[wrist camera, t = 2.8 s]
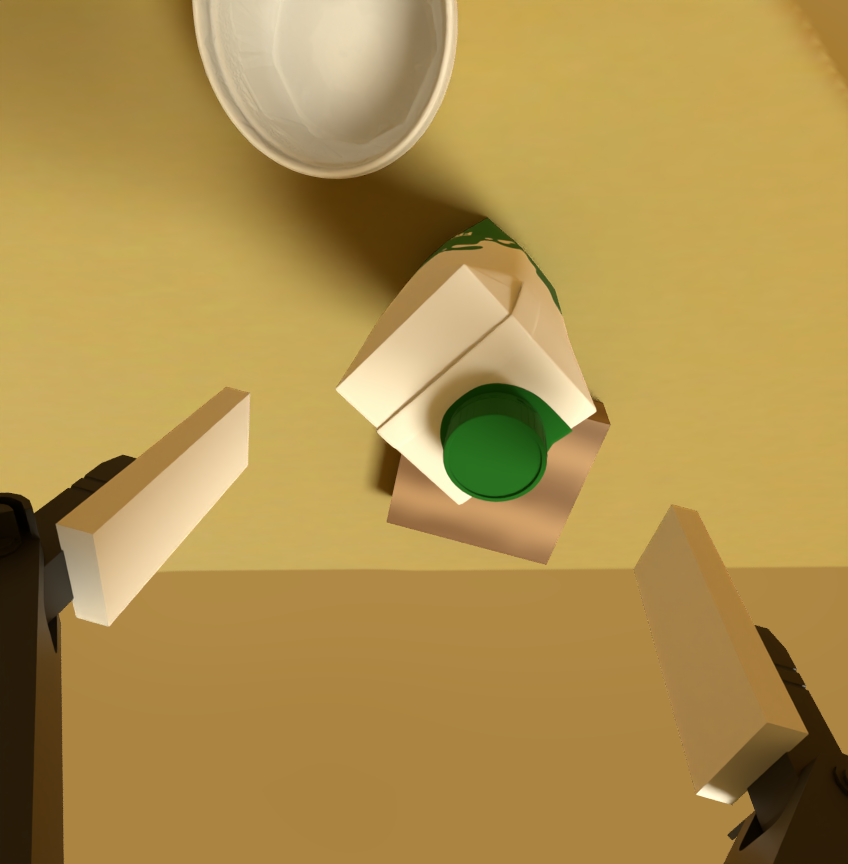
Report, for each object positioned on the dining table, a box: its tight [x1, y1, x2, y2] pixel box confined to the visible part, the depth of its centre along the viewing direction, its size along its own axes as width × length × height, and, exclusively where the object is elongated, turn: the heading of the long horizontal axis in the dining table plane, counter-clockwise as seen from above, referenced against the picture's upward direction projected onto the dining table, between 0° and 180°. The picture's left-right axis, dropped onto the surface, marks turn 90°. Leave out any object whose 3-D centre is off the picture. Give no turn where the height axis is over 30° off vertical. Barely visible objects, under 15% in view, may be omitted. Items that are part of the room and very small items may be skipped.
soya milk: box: [335, 218, 596, 505], centre depth 27 cm, size 9×9×20 cm
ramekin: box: [192, 0, 458, 179], centre depth 27 cm, size 13×13×7 cm
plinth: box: [387, 400, 610, 565], centre depth 41 cm, size 14×14×4 cm
